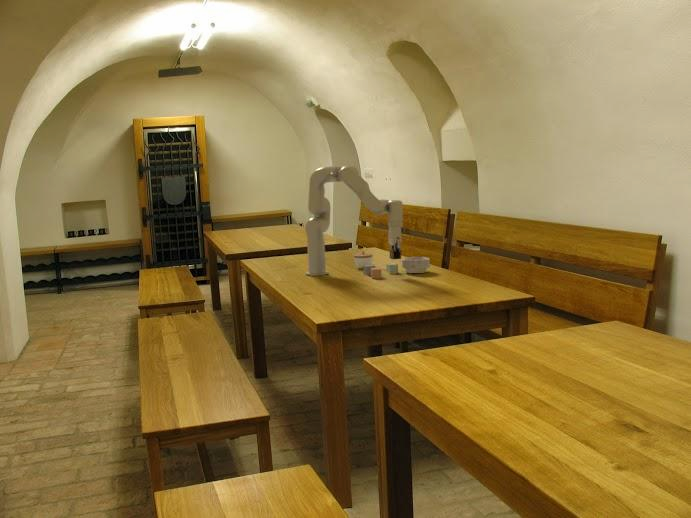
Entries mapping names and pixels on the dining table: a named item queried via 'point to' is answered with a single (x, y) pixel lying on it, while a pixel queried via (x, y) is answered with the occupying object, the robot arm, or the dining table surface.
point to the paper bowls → (415, 264)
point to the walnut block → (393, 253)
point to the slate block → (367, 269)
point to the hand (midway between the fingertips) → (395, 257)
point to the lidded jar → (363, 259)
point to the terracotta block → (376, 273)
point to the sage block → (392, 268)
